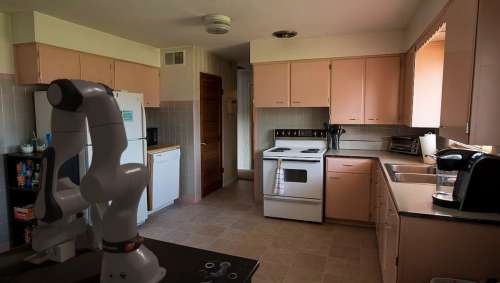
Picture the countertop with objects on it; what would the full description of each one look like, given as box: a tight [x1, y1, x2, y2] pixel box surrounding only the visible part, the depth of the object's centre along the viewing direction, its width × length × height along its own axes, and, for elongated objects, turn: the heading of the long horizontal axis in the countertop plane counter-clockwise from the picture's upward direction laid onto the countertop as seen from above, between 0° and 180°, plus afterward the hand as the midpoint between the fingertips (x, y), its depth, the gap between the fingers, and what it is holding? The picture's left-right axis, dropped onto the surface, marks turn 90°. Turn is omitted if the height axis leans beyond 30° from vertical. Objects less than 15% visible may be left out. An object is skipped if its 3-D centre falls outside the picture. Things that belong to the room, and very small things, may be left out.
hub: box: [23, 249, 50, 265], centre depth 116 cm, size 8×8×5 cm
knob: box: [49, 239, 76, 263], centre depth 116 cm, size 6×6×7 cm
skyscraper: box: [85, 201, 110, 252], centre depth 125 cm, size 8×8×28 cm
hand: (62, 251), depth 116 cm, fingers closed on knob, 6 cm apart
